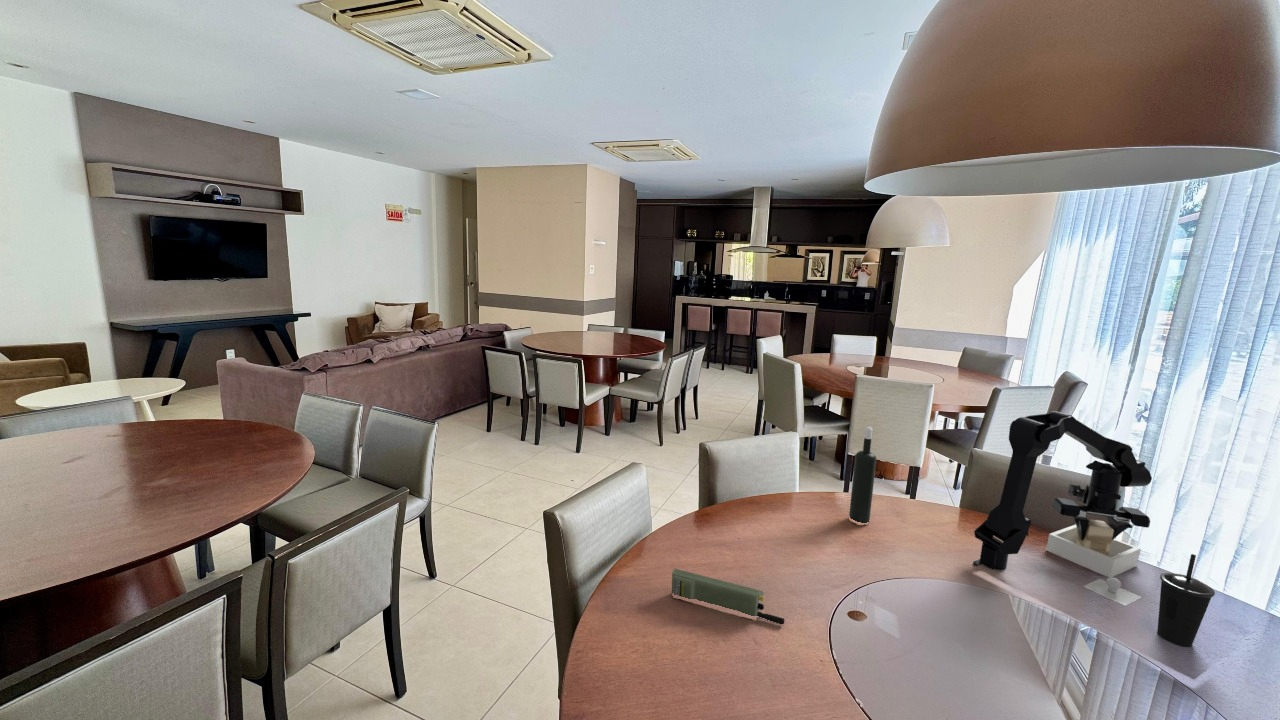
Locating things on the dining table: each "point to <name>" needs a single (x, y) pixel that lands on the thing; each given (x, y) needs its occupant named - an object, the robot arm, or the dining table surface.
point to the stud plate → (1112, 591)
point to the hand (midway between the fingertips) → (1093, 541)
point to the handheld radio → (720, 593)
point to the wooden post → (1097, 537)
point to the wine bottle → (863, 481)
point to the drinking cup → (1182, 606)
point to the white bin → (1093, 553)
